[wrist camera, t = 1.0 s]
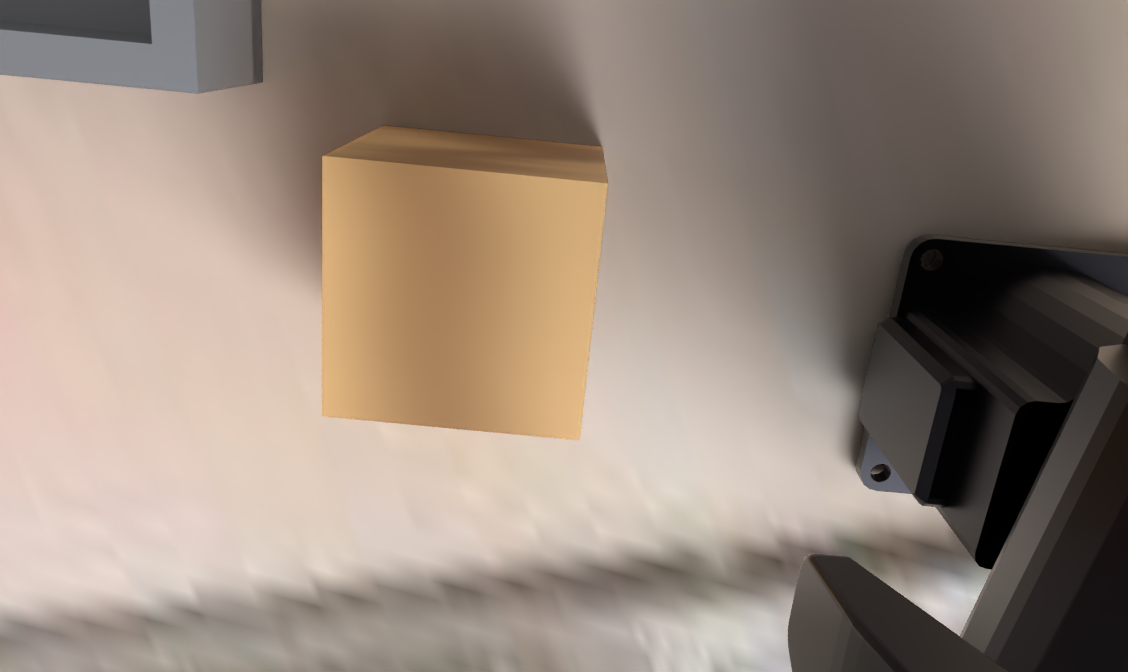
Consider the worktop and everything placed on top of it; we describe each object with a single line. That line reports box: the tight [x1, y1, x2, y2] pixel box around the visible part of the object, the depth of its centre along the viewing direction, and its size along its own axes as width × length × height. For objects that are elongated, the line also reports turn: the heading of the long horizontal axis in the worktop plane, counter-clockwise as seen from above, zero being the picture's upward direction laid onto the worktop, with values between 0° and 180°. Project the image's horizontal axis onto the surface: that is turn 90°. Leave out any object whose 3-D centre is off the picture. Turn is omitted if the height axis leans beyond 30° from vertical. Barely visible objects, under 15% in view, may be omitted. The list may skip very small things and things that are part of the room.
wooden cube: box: [322, 125, 608, 440], centre depth 18 cm, size 5×5×5 cm
